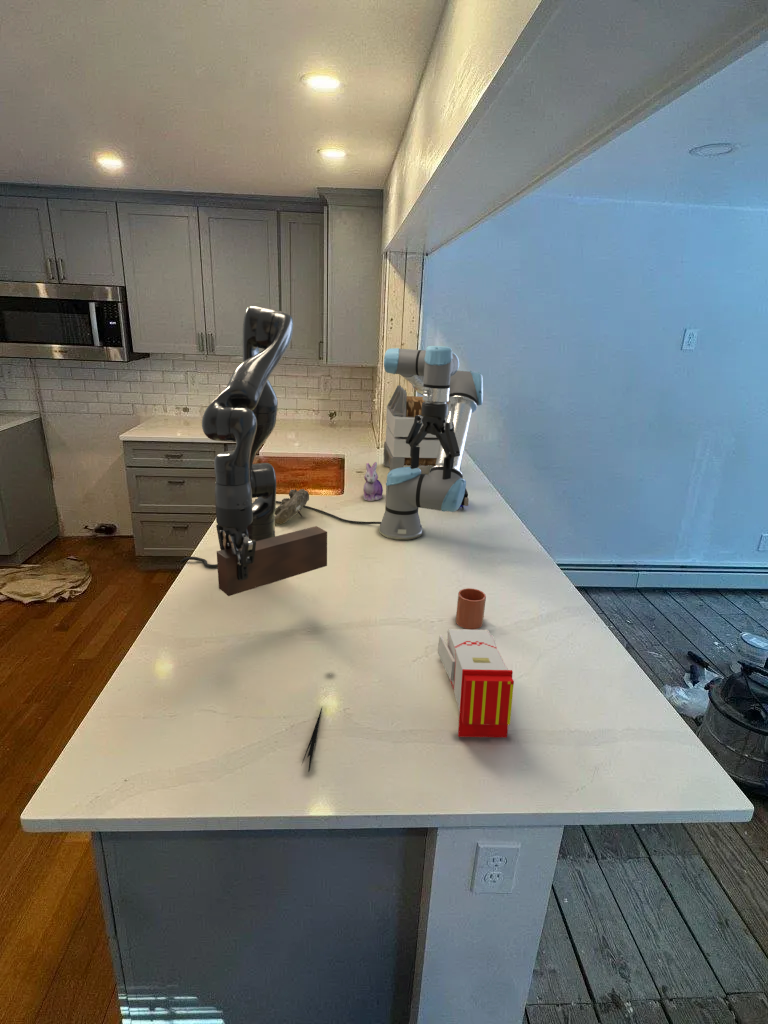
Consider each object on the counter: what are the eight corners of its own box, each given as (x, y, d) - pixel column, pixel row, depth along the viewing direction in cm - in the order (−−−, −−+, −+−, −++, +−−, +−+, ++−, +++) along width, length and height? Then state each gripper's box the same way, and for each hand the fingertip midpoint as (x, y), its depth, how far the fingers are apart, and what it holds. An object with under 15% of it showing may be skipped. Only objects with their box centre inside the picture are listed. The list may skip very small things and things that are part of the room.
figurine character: (468, 514, 225) (463, 498, 239) (470, 497, 222) (465, 482, 235) (451, 514, 225) (447, 498, 238) (453, 497, 222) (449, 481, 235)
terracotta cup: (450, 620, 145) (452, 593, 143) (467, 612, 150) (470, 585, 147) (470, 632, 141) (473, 603, 138) (488, 623, 145) (491, 596, 142)
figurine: (367, 502, 230) (368, 467, 225) (357, 495, 238) (358, 460, 233) (388, 500, 234) (389, 465, 229) (377, 492, 242) (378, 458, 237)
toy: (488, 613, 130) (523, 677, 101) (484, 667, 133) (517, 744, 104) (435, 612, 130) (455, 676, 101) (432, 666, 133) (451, 743, 103)
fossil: (278, 495, 221) (307, 474, 216) (294, 513, 224) (323, 493, 219) (262, 520, 201) (293, 498, 196) (280, 540, 204) (311, 518, 199)
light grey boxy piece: (382, 463, 289) (386, 382, 275) (445, 464, 293) (451, 384, 279) (390, 482, 257) (394, 392, 243) (460, 483, 261) (468, 394, 247)
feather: (331, 679, 122) (336, 673, 122) (307, 777, 96) (313, 769, 95) (324, 675, 122) (329, 669, 121) (298, 772, 95) (304, 764, 95)
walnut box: (228, 596, 122) (226, 558, 119) (218, 588, 125) (216, 551, 122) (327, 565, 138) (327, 531, 135) (316, 559, 142) (316, 526, 139)
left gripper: (202, 496, 122) (207, 568, 127) (233, 514, 112) (237, 592, 117) (234, 490, 126) (237, 559, 132) (266, 507, 116) (269, 582, 122)
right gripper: (396, 396, 169) (393, 465, 176) (458, 409, 152) (452, 485, 159) (414, 395, 174) (410, 462, 181) (477, 407, 156) (469, 481, 163)
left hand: (237, 574), depth 125 cm, fingers closed on walnut box, 4 cm apart
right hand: (430, 473), depth 170 cm, fingers open, 13 cm apart
